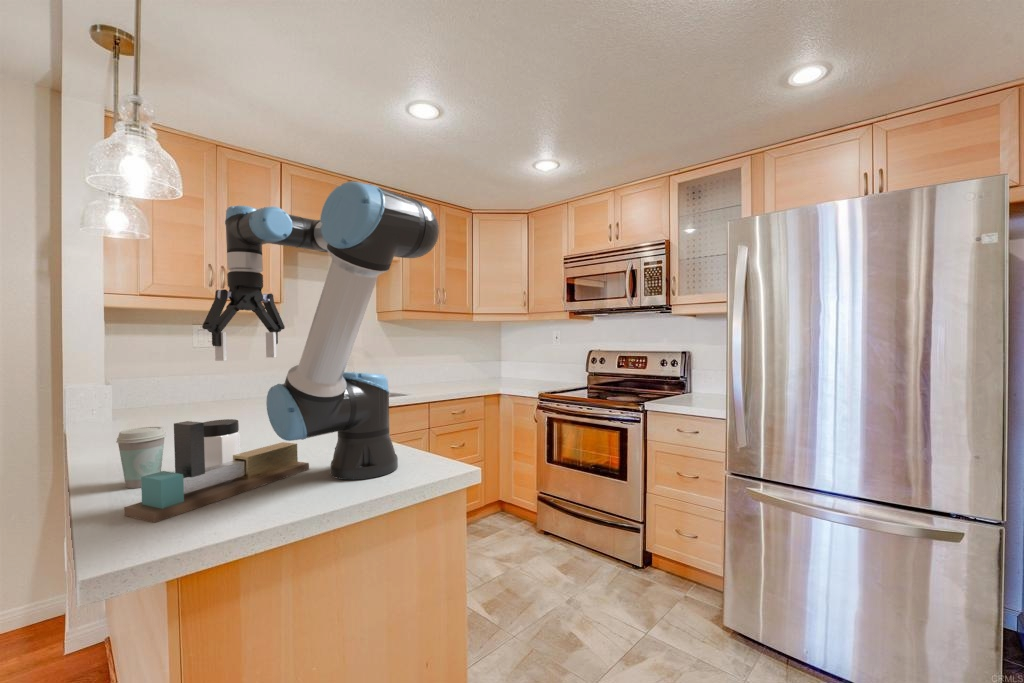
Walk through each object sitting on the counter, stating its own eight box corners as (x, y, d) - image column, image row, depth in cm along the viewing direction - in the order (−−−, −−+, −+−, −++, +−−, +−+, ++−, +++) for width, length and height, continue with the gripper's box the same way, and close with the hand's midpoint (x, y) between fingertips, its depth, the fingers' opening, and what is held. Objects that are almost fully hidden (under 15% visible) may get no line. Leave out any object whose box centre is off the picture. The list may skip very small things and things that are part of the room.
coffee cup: (126, 493, 94) (124, 435, 94) (111, 486, 98) (109, 431, 98) (174, 481, 101) (173, 428, 101) (158, 475, 106) (156, 424, 105)
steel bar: (248, 468, 102) (247, 410, 101) (264, 470, 100) (262, 411, 100) (147, 498, 83) (145, 428, 83) (164, 502, 81) (161, 430, 81)
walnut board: (282, 465, 112) (282, 459, 112) (309, 469, 108) (308, 462, 108) (124, 515, 82) (124, 507, 82) (154, 522, 78) (154, 514, 78)
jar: (225, 466, 113) (223, 418, 113) (249, 468, 110) (247, 419, 110) (188, 476, 104) (187, 425, 104) (213, 480, 101) (212, 426, 101)
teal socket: (164, 497, 86) (163, 470, 86) (183, 501, 84) (183, 474, 84) (142, 504, 83) (141, 476, 83) (161, 508, 81) (160, 480, 80)
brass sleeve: (283, 461, 110) (282, 442, 110) (297, 463, 108) (297, 443, 108) (233, 477, 98) (232, 455, 98) (248, 479, 96) (247, 457, 96)
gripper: (276, 278, 123) (278, 356, 124) (181, 266, 100) (184, 362, 100) (297, 276, 121) (299, 356, 121) (205, 263, 97) (208, 362, 98)
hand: (247, 359), depth 111 cm, fingers open, 13 cm apart
